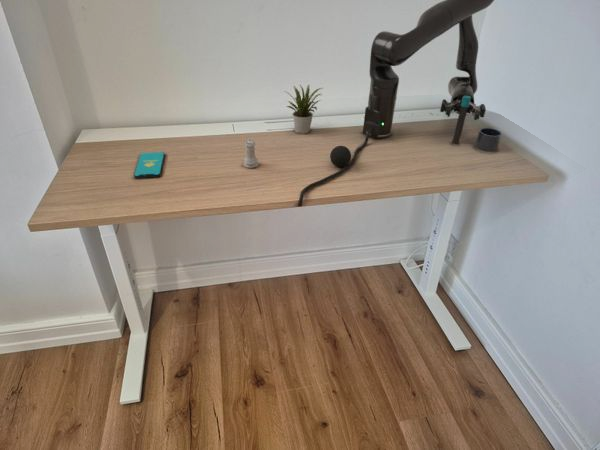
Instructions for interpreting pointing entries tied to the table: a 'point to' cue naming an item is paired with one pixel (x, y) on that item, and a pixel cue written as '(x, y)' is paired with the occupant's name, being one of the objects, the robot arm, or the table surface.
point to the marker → (461, 119)
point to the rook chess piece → (250, 155)
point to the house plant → (303, 110)
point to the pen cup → (488, 139)
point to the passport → (149, 165)
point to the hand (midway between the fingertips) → (462, 115)
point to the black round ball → (340, 156)
